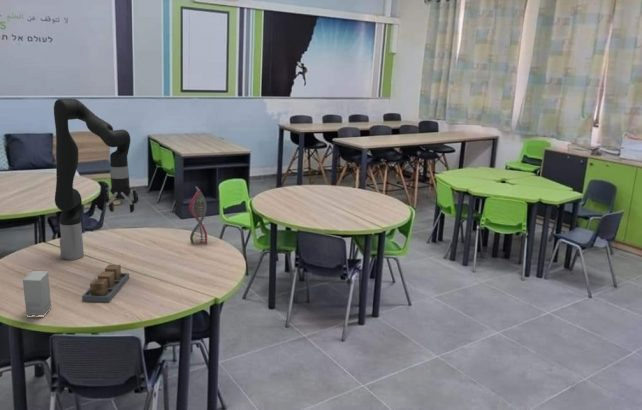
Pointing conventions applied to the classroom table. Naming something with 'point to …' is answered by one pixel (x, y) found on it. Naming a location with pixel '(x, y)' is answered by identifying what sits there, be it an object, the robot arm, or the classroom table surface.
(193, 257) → the classroom table surface
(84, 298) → the tray
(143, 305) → the classroom table surface
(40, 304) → the skincare box
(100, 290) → the block
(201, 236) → the dna model
